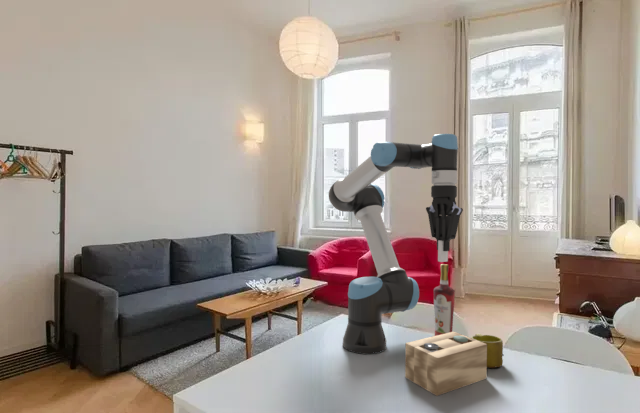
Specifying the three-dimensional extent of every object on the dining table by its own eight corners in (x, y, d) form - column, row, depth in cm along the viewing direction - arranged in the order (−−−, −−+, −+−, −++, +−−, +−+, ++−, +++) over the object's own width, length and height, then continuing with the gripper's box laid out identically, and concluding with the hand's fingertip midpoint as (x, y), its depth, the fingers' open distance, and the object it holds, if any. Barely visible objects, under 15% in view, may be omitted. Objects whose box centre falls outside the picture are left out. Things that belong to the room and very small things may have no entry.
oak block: (405, 377, 112) (405, 343, 112) (453, 362, 122) (453, 331, 122) (436, 395, 101) (437, 358, 101) (486, 378, 111) (487, 344, 111)
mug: (513, 367, 115) (501, 333, 117) (478, 374, 117) (467, 340, 119) (505, 359, 126) (494, 328, 129) (473, 365, 128) (463, 335, 131)
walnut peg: (449, 367, 115) (450, 337, 115) (459, 364, 117) (459, 334, 117) (460, 372, 112) (461, 341, 112) (470, 369, 114) (470, 339, 114)
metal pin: (420, 376, 109) (420, 344, 109) (430, 373, 111) (431, 342, 111) (431, 382, 106) (431, 349, 106) (441, 378, 108) (441, 346, 108)
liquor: (429, 342, 139) (431, 265, 138) (436, 337, 145) (437, 262, 144) (450, 347, 134) (451, 267, 134) (456, 341, 140) (457, 264, 140)
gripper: (419, 185, 123) (418, 259, 123) (452, 184, 112) (450, 265, 112) (437, 185, 127) (435, 257, 127) (469, 184, 115) (468, 263, 116)
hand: (442, 261), depth 120 cm, fingers closed
